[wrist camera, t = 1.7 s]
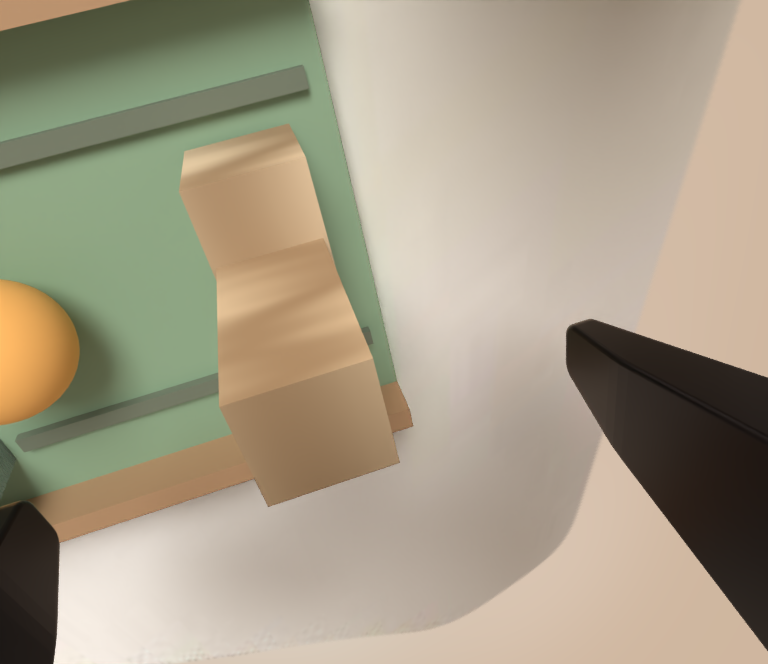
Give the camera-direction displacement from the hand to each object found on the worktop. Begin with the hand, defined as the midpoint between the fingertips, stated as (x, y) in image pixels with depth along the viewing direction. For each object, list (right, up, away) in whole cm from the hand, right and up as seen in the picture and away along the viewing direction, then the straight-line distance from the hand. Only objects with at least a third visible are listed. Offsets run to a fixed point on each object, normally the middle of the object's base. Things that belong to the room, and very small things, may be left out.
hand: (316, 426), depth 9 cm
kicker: (-2, +4, +6) cm, 8 cm away
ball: (-8, +1, +4) cm, 9 cm away
